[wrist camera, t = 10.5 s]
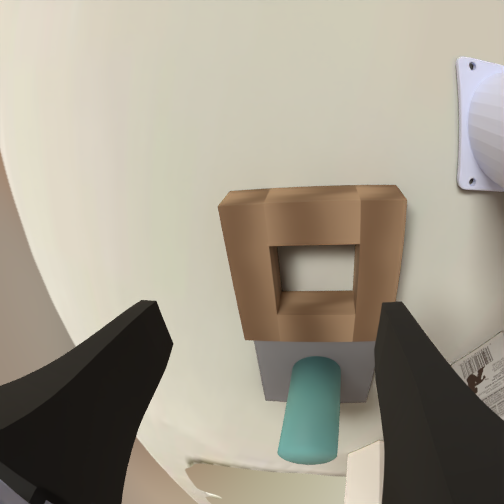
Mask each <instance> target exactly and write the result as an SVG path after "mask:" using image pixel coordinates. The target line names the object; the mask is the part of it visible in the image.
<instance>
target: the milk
mask: <svg viewBox="0 0 504 504" xmlns="http://www.w3.org/2000/svg"><path fill="white" fill-rule="evenodd" d="M383 479H384V441H381V440H378V441H376V442H374V443H372V444H370V445H368V446H366V447H363V448H361V449H359V450H356V451H354V452H352V453H349V454H348V460H347V476H346V490H345V502H344V504H382V493H383Z"/></svg>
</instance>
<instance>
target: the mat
mask: <svg viewBox="0 0 504 504" xmlns="http://www.w3.org/2000/svg"><path fill="white" fill-rule="evenodd" d="M375 342H376V341H363V342H281V341H254V344H255V349H256V354H257V359H258V364H259V369H260V374H261V380H262V385H263V390H264V395H265V400H266V401H280V402H287V398H288V393H289V387H290V380H291V374H292V368H293V366H294V364H295V363H296V362H298V361H299V360H301V359H303V358H306V357H311V356H321V357H326V358H329V359H332V360H334V361H335V362H336V363H337V364H338V365H339V366H340V369H341V388H340V403H360V402H366V400H367V397H368V393H369V389H370V385H371V381H372V377H373V373H374V369H375V358H374V348H375Z"/></svg>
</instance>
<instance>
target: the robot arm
mask: <svg viewBox="0 0 504 504" xmlns="http://www.w3.org/2000/svg"><path fill="white" fill-rule="evenodd" d="M469 63H472V65H473V70H471V69H470V67H469ZM456 71H457V83H458V100H459V156H458V173H457V183H458V185H459V186H460V187H461V188H462V189H465V190H483V191H499V192H504V66H503V65H499V64H495V63H491V62H487V61H483V60H478V59H474V58H469V57H459V58H457V60H456ZM471 178H473V183H472V184H469V181H470V179H471ZM172 347H173V342H172V339H171V337H170V334H169V332H168V330H167V327H166V325H165V322H164V320H163V317H162V315H161V312H160V309H159V307H158V304H157V302H156V301H148V300H141V301H140V302H138V303H136V304H135V305H133V306H132V307H130V308H129V309H127V310H126V311H125V312H123V313H122V314H121V315H119V316H118V317H116V318H115V319H114V320H112V321H111V322H110V323H108V324H107V325H106V326H104V327H103V328H102V329H100V330H99V331H98V332H96V333H95V334H94V335H92V336H91V337H89V338H88V339H87V340H85V341H84V342H82V343H81V344H79V345H78V346H76V347H75V348H74V349H72V350H71V351H69V352H68V353H66V354H65V355H63V356H61V357H60V358H58V359H57V360H55V361H53V362H51V363H50V364H48V365H46V366H44V367H42V368H40V369H39V370H37V371H35V372H32V373H30V374H28V375H26V376H24V377H22V378H20V379H17V380H15V381H12V382H10V383H7V384H4V385H2V386H0V504H121V502H122V493H123V487H124V481H125V476H126V471H127V466H128V463H129V458H130V455H131V451H132V448H133V444H134V441H135V438H136V435H137V431H138V428H139V426H140V423H141V421H142V418H143V416H144V414H145V412H146V410H147V408H148V406H149V403H150V401H151V399H152V397H153V395H154V393H155V391H156V389H157V386H158V384H159V382H160V380H161V378H162V376H163V373H164V371H165V369H166V366H167V363H168V360H169V357H170V353H171V350H172ZM374 358H375V377H376V385H377V392H378V399H379V406H380V413H381V420H382V429H383V437H384V479H383V493H382V504H504V420H503V419H501V418H500V417H499V416H498V415H497V414H496V413H495V412H493V411H492V410H491V409H490V408H489V407H488V406H487V405H486V404H485V403H484V402H483V401H482V400H481V399H480V398H479V397H478V396H477V395H476V394H475V393H474V392H473V391H472V390H471V389H470V388H469V387H468V385H467V384H466V383H465V382H464V381H463V380H462V379H461V378H460V376H459V375H458V374H457V373H456V372H455V370H454V369H453V368H452V367H451V366H450V365H449V363H448V362H447V361H446V360H445V358H444V357H443V356H442V355H441V353H440V352H439V351H438V349H437V348H436V347H435V345H434V344H433V343H432V342H431V340H430V339H429V338H428V336H427V335H426V334H425V332H424V331H423V330H422V328H421V327H420V326H419V324H418V323H417V321H416V320H415V319H414V317H413V316H412V315H411V313H410V312H409V310H408V309H407V308H406V306H405V305H404V304H403V303H402V302H382V307H381V313H380V320H379V326H378V331H377V337H376V342H375V348H374Z"/></svg>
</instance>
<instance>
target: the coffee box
mask: <svg viewBox="0 0 504 504" xmlns="http://www.w3.org/2000/svg"><path fill="white" fill-rule="evenodd" d="M451 367H452V368H453V369H454V370H455V372H456V373H457V374H458V375H459V376H460V378H461V379H462V380H463V381H464V382H465V383H466V384H467V385H468V387H469V388H470V389H471V390H472V391H473V392H474V393H475V394H476V395H477V396H478V397H479V398H480V399H481V400H482V401H483V402H484V403H485V404H486V405H487V406H488V407H489V408H490V409H491V410H492V411H493V412H495V413H496V414H497V415H498V416H499V417H500V418H501V419H503V420H504V333H503V332H500V333H499V334H497V335H496V336H494V337H493V338H492V339H490V340H489V341H487V342H486V343H484V344H483V345H482V346H480V347H479V348H477V349H476V350H474V351H473V352H471V353H469V354H468V355H466V356H465V357H463V358H462V359H460V360H458V361H457V362H455V363H453V364H452V365H451Z"/></svg>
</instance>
